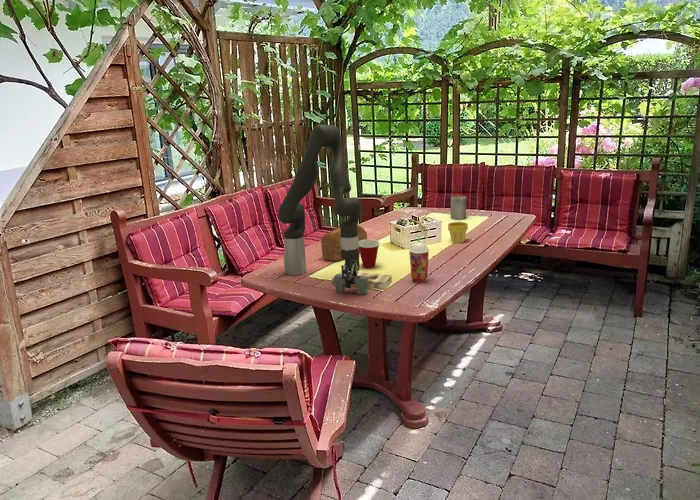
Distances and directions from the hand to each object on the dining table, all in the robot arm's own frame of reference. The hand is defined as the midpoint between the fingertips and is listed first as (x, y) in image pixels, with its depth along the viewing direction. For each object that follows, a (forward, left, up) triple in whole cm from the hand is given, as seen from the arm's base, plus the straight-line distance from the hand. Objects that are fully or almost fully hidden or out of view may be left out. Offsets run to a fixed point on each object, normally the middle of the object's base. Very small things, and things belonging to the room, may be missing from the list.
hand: (351, 284), depth 236 cm
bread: (-24, +51, -4) cm, 56 cm away
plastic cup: (-5, +35, -3) cm, 36 cm away
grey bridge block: (0, 0, -3) cm, 3 cm away
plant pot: (+26, +89, -3) cm, 93 cm away
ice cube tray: (0, +12, -3) cm, 12 cm away
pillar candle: (+15, +144, -4) cm, 145 cm away
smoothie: (+23, +22, -3) cm, 32 cm away
